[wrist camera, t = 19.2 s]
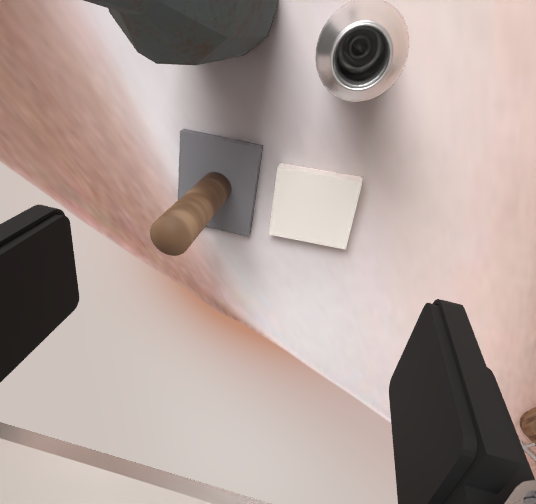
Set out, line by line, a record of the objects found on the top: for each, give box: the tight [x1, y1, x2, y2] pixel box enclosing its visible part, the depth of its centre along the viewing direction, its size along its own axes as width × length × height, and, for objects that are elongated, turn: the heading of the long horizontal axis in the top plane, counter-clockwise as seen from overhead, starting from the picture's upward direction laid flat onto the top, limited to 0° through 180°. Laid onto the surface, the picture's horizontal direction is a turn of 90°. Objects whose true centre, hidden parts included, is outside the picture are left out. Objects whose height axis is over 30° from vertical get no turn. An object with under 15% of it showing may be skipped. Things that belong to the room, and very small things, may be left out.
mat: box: [178, 129, 263, 236], centre depth 50 cm, size 10×12×1 cm
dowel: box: [150, 172, 231, 256], centre depth 44 cm, size 4×4×14 cm
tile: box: [269, 163, 362, 250], centre depth 49 cm, size 2×9×10 cm
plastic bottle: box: [316, 0, 409, 102], centre depth 32 cm, size 6×7×20 cm
